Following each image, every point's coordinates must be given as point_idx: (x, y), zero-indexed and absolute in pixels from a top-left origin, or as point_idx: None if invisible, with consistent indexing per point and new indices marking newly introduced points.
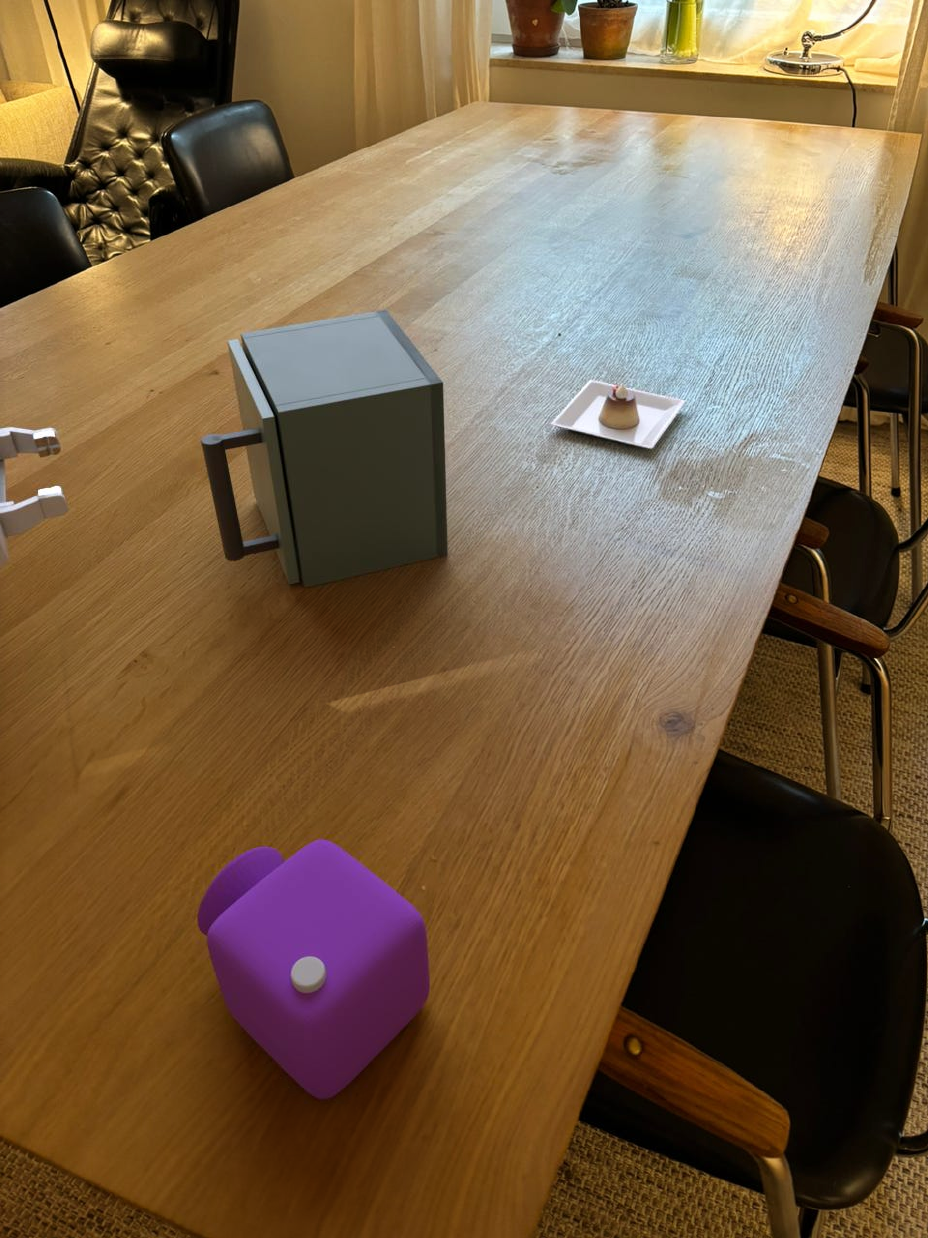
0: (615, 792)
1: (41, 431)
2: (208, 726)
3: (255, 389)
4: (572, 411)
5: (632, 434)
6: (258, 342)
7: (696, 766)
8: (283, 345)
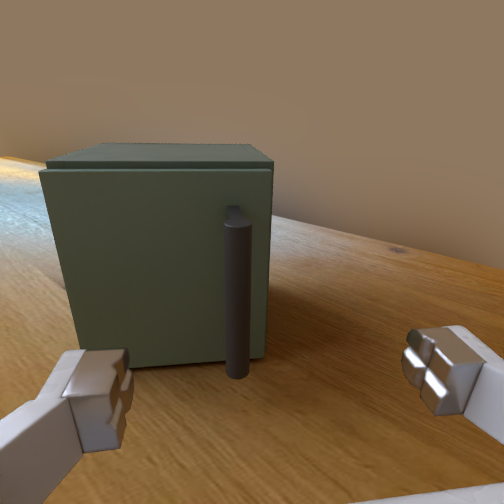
0: (451, 268)
1: (68, 373)
2: (488, 443)
3: (199, 169)
4: None
5: None
6: (90, 158)
7: (423, 251)
8: (117, 155)
